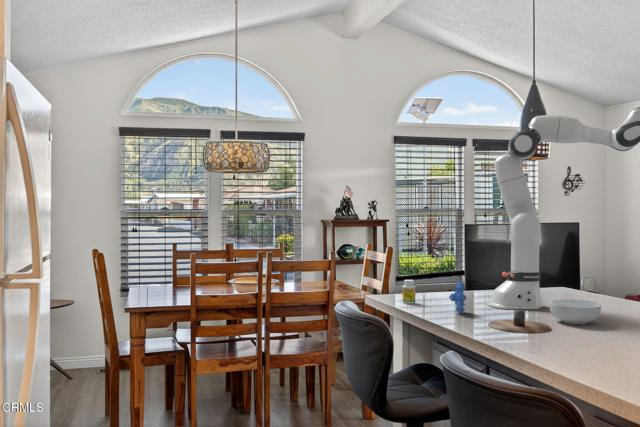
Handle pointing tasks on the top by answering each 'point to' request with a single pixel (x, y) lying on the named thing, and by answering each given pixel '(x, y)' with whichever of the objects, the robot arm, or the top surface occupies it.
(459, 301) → the grapes
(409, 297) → the supplement bottle
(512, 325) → the lid
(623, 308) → the top surface
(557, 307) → the cereal bowl
